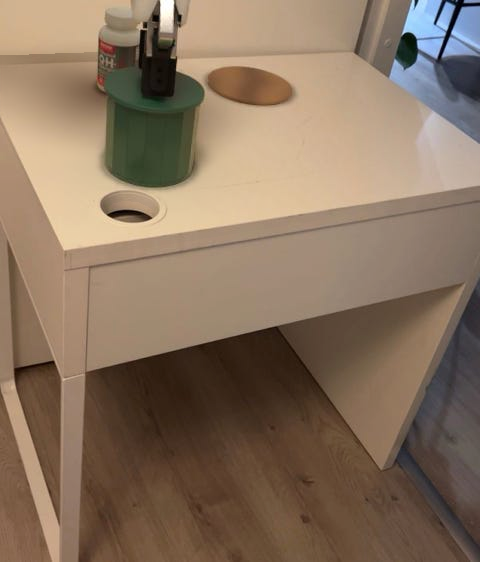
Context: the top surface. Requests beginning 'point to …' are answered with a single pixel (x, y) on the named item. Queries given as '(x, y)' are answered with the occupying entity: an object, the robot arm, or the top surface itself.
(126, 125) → the tin
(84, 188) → the top surface
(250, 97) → the cork mat
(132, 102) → the tin lid
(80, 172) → the top surface
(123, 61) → the pill bottle
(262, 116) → the top surface
